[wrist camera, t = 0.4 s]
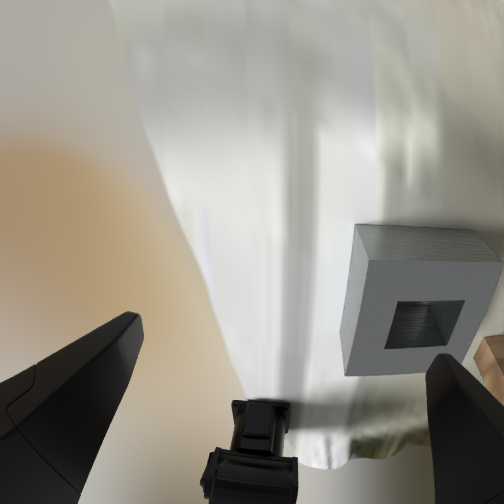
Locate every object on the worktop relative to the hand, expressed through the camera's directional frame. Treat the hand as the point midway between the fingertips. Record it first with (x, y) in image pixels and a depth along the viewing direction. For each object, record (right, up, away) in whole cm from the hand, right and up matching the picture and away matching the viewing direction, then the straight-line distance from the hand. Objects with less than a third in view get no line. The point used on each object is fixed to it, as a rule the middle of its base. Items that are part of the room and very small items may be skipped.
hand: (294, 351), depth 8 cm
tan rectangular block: (+24, -7, +17) cm, 30 cm away
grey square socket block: (+11, 0, +15) cm, 18 cm away
